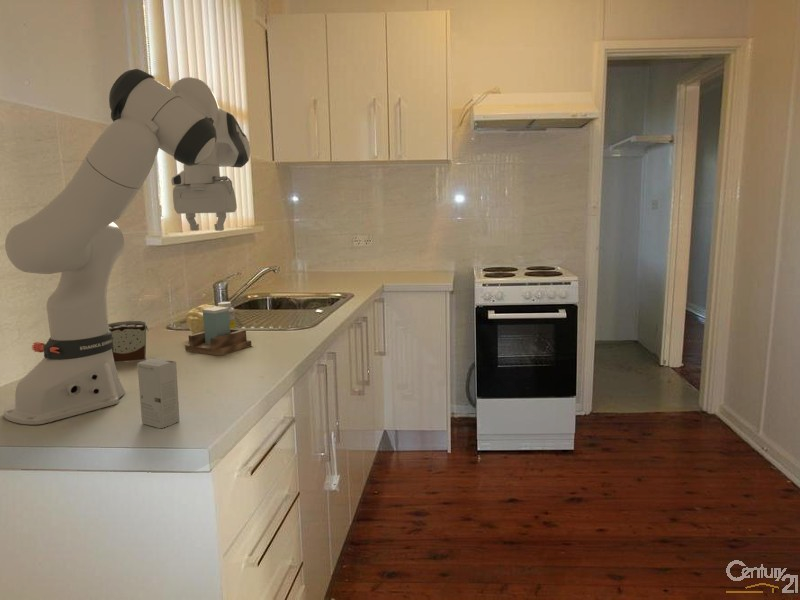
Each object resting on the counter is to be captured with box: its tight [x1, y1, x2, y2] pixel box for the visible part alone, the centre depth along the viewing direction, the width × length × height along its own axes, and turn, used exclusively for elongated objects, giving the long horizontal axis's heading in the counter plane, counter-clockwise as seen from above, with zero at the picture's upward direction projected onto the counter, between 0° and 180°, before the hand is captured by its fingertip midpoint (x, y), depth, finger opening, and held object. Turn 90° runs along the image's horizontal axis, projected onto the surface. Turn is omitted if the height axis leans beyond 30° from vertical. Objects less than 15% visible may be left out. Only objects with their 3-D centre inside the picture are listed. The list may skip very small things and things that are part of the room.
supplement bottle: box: [217, 301, 237, 329], centre depth 183 cm, size 6×6×10 cm
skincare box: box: [137, 357, 180, 429], centre depth 109 cm, size 6×4×12 cm
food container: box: [108, 320, 149, 363], centre depth 157 cm, size 12×6×10 cm, turn 104°
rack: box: [184, 328, 252, 356], centre depth 166 cm, size 12×14×4 cm
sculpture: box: [185, 303, 217, 335], centre depth 178 cm, size 12×12×11 cm
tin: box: [202, 305, 230, 345], centre depth 165 cm, size 5×5×10 cm
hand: (206, 230), depth 153 cm, fingers open, 8 cm apart
